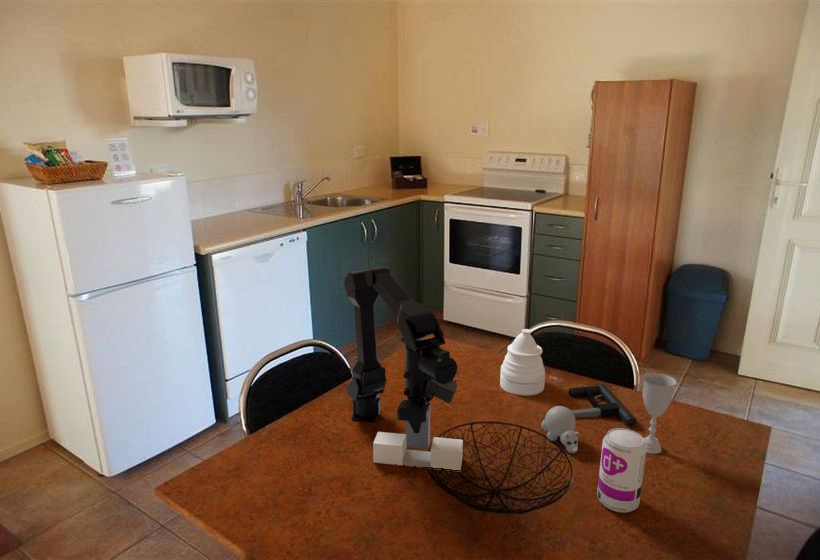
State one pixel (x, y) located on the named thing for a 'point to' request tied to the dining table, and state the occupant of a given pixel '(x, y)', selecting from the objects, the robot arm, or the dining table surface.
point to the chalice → (656, 403)
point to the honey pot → (523, 366)
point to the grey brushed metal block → (419, 434)
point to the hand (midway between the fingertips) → (418, 428)
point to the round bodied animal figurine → (561, 427)
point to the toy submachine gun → (604, 410)
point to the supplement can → (621, 470)
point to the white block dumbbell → (417, 452)
